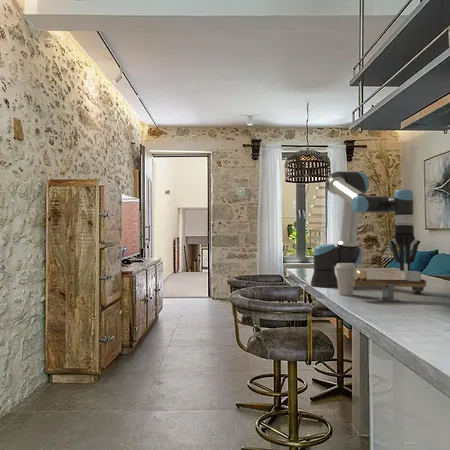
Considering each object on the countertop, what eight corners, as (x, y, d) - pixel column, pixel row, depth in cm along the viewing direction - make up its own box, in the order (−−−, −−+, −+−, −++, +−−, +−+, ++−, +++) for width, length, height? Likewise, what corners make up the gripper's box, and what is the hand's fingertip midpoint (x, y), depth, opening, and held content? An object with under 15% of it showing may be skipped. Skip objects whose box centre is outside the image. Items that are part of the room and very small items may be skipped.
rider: (404, 282, 182) (404, 271, 182) (416, 282, 182) (416, 271, 182) (408, 283, 177) (408, 272, 178) (420, 283, 177) (420, 272, 177)
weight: (356, 281, 184) (356, 270, 184) (365, 281, 183) (365, 270, 183) (358, 282, 180) (358, 271, 180) (367, 282, 179) (367, 271, 179)
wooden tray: (351, 283, 185) (351, 277, 185) (419, 285, 183) (419, 278, 183) (354, 285, 178) (354, 279, 178) (426, 286, 176) (426, 280, 176)
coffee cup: (357, 296, 192) (356, 264, 192) (336, 295, 194) (335, 264, 194) (354, 293, 201) (354, 263, 202) (334, 293, 203) (334, 262, 204)
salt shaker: (414, 292, 203) (413, 268, 203) (426, 294, 198) (426, 269, 198) (409, 294, 199) (408, 269, 199) (421, 295, 194) (420, 270, 195)
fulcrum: (375, 298, 185) (375, 281, 185) (393, 298, 184) (393, 281, 185) (381, 301, 176) (381, 283, 176) (400, 302, 175) (400, 283, 176)
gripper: (391, 224, 177) (392, 279, 177) (422, 224, 176) (423, 279, 175) (386, 225, 185) (387, 277, 184) (416, 224, 184) (417, 277, 183)
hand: (405, 278), depth 180 cm, fingers closed
